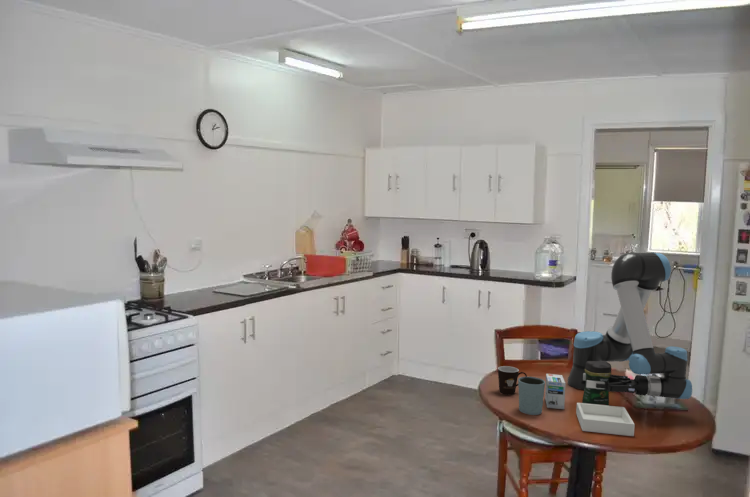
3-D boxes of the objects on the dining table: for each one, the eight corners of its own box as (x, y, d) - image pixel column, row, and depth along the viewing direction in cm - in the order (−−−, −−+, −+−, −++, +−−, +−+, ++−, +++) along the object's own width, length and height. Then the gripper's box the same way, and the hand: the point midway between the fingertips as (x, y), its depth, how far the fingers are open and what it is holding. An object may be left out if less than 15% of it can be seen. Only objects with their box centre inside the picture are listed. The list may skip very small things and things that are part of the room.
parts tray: (576, 413, 221) (576, 402, 221) (623, 418, 218) (624, 407, 217) (582, 430, 205) (583, 419, 204) (633, 436, 201) (634, 424, 201)
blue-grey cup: (527, 416, 216) (529, 385, 215) (511, 407, 226) (512, 377, 225) (549, 413, 221) (551, 382, 219) (532, 404, 230) (533, 375, 229)
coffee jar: (589, 411, 224) (592, 364, 222) (579, 404, 232) (581, 358, 230) (612, 410, 225) (615, 364, 224) (601, 403, 233) (604, 358, 232)
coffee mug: (494, 394, 241) (496, 370, 240) (498, 387, 249) (499, 365, 248) (523, 398, 237) (524, 374, 236) (526, 392, 245) (527, 368, 244)
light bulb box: (564, 409, 225) (566, 382, 224) (546, 408, 226) (548, 381, 225) (561, 400, 236) (563, 374, 235) (544, 398, 237) (545, 373, 236)
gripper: (652, 404, 214) (588, 398, 219) (639, 386, 235) (580, 381, 239) (654, 384, 213) (589, 379, 218) (640, 368, 234) (581, 363, 239)
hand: (584, 380), depth 229 cm, fingers closed on coffee jar, 8 cm apart
